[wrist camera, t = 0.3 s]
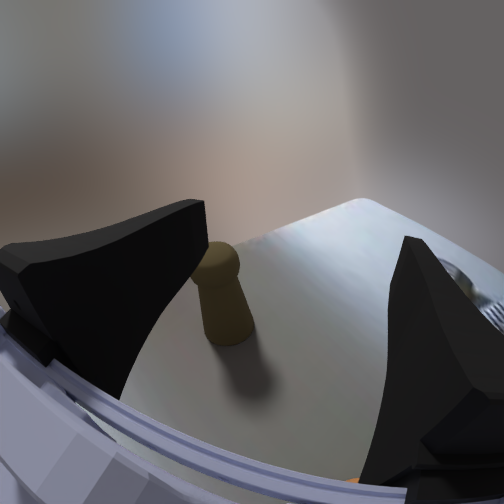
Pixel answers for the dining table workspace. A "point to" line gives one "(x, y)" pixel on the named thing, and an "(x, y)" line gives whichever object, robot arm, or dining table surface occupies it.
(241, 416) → the dining table surface
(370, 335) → the dining table surface
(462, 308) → the robot arm
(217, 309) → the cork
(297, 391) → the dining table surface
